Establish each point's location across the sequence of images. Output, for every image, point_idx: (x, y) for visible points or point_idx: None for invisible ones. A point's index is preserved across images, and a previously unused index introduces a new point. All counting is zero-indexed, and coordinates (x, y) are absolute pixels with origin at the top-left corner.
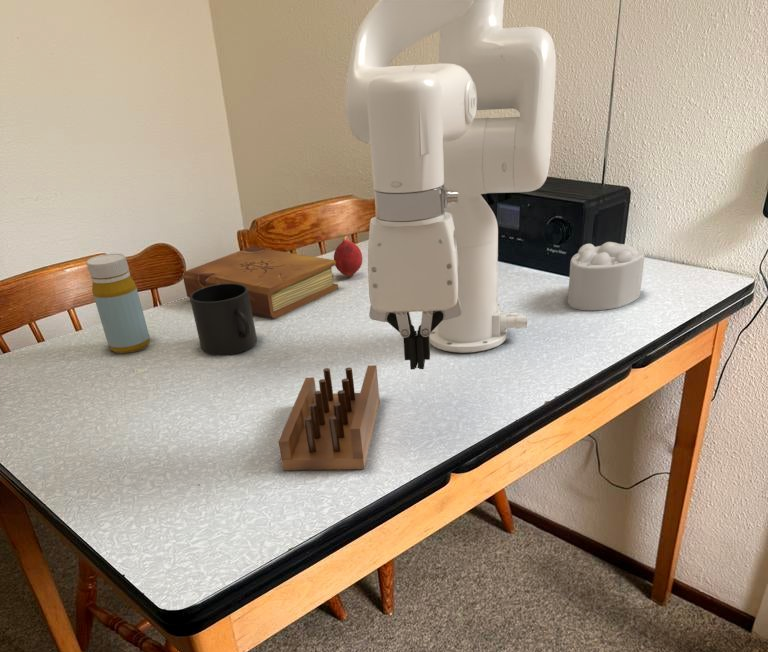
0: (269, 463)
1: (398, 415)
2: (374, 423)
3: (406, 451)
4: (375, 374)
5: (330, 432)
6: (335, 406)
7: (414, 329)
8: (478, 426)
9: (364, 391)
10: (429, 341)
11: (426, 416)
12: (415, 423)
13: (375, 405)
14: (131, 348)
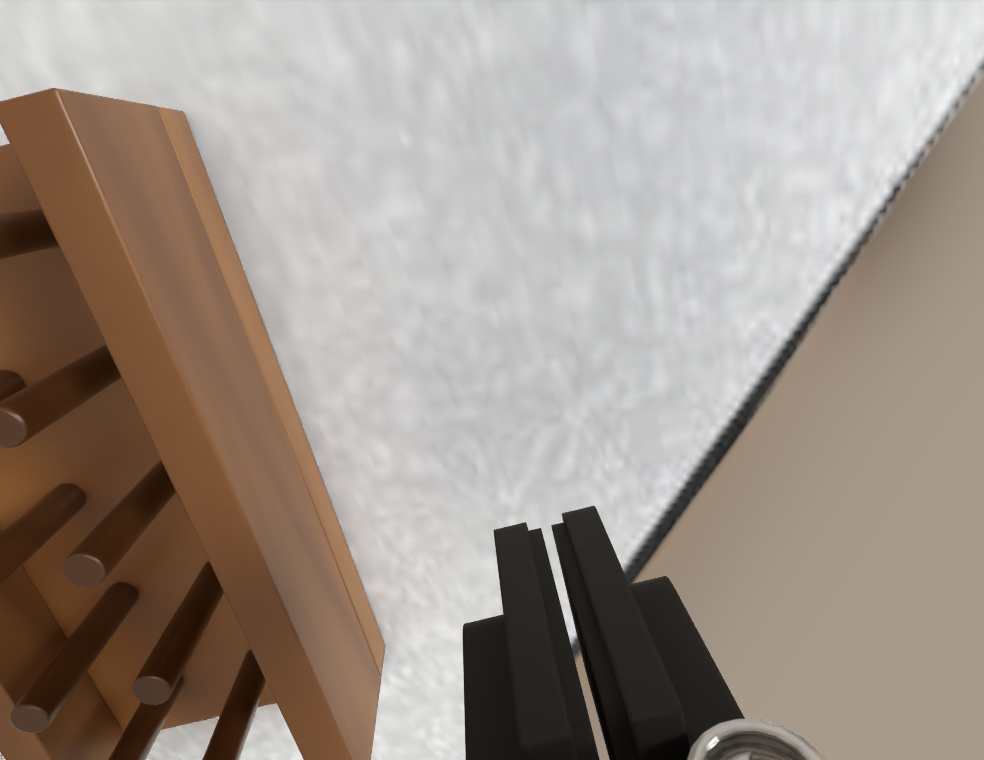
0: None
1: (347, 242)
2: (273, 353)
3: (489, 517)
4: (117, 189)
5: (155, 553)
6: (154, 702)
7: (574, 755)
8: (733, 276)
9: (201, 494)
10: (712, 665)
11: (483, 227)
12: (453, 303)
13: (226, 284)
14: None
